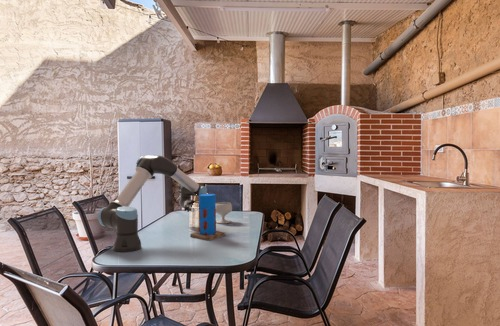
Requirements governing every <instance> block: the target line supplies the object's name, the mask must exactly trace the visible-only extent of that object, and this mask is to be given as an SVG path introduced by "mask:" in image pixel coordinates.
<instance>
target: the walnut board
mask: <svg viewBox="0 0 500 326" xmlns="http://www.w3.org/2000/svg"><path fill="white" fill-rule="evenodd" d="M224 236H226V232H224V231H219V230H216V233H215V234H212V235H201V234H200V230H199V231H197V232H192V233H190V236H189V237H190V238H193V239H194V238H195V239H198V240H205V241H211V240H215V239H218V238H222V237H224Z"/></svg>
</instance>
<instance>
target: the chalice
mask: <svg viewBox="0 0 500 326" xmlns="http://www.w3.org/2000/svg"><path fill="white" fill-rule="evenodd" d="M232 210H233V204H232V203H231V202H228V201H219V202H216V213H217V214H218V215H220V216H221V219H220V220H216V224H229V223H232V221H231V220H228V219H226V218H225V217H226V216H227V215H229V214H230V213H231V212H232Z"/></svg>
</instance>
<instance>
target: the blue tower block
mask: <svg viewBox="0 0 500 326" xmlns="http://www.w3.org/2000/svg"><path fill="white" fill-rule="evenodd" d="M216 200H217V199H216V194H214V193H207V194H201V195H199V196H198V204H199V209H198V224H199V225H198V227H199V228H198V229H199V231H200V234H201V235H212V234H215V233H216V231H217V223H216V221H217V215H216V203H217V202H216Z"/></svg>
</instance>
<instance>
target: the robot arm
mask: <svg viewBox="0 0 500 326" xmlns="http://www.w3.org/2000/svg"><path fill="white" fill-rule="evenodd" d="M155 174H156V175H157V174H161V175H164V176H166V177H168V178H172V180H174V181H175V182H177V184H179V185H180V199H179V202H178V204H179V206H180V207H181V208H183V210H184V212H192V213H195V210H194V208H192V205H193V203H194V202H197V201H196V200H193V199H192V197H193V196H194V197H199V195H201V194H208V188H207V187H206V186H204V185H201V184H199V183H198V182H196V181H195V180H193V179H192V178H191V177H190V176H189V175H187V174H186V173H185V172H183V171H182V170H181V169H180V168H179V167H178V165H177V164H175V162H173V161H172V160H171V159H168V158H167V157H166V156H164V155H163V156H162V155H150V154H149V155H142V156H140V157H139V158H138V160H137V161H136V163H135V172H134V174H133V175H132V177H131V178H130V179H129V181H128V182H127V184H126V185H125V186H124V188H123V189H122V191H121V192H120V193H119V194H118V196H117V197H116V199H115V200H114V201H110V203H109V204H108V205H107V206H105V207H102V208H101V209H99V212H98V214H97V220H98V222H99V224H100V225H101V226H103V227H104V228H110V229H115V230H116V236H115V239H114V242H113V246H112V248H113V251H114V252H117V253H127V252H134V251H137V250H138V251H139V249H141V248H142V241H141V239H140V236H139V231H138V229H139V227H138V226H139V222H138V220H139V214H138V210H137V208H135V207H132V206H130V205H131V203H132V202H133V201H134V199H135V198H136V196H137V195H138V194H139V192H140V191H141V189H142V188H143V186H144V185H145V183H146V182H147V181H148V180H150V179H152V178H153V176H154V175H155ZM196 194H197V195H196Z"/></svg>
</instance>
